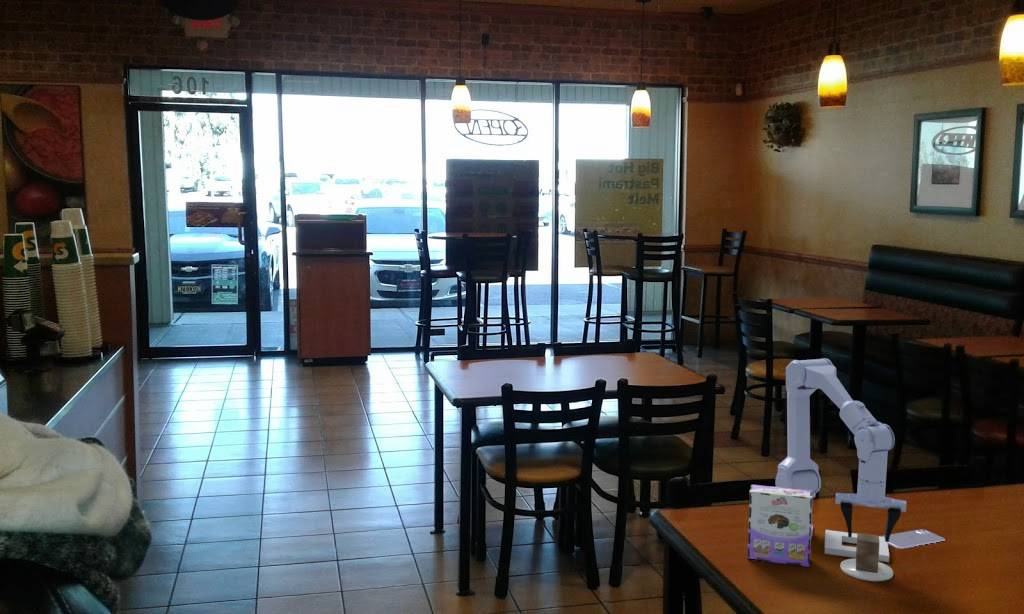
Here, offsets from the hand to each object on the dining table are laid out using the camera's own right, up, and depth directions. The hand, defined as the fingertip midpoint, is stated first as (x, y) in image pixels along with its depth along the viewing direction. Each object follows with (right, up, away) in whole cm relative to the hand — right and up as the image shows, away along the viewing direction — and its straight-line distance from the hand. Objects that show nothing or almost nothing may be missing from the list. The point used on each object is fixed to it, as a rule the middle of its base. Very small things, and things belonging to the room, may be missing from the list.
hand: (868, 537), depth 203 cm
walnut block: (0, -7, +1) cm, 7 cm away
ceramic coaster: (0, -8, +1) cm, 8 cm away
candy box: (-18, -7, +7) cm, 21 cm away
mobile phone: (+18, -6, +20) cm, 28 cm away
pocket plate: (+2, -6, +14) cm, 15 cm away
